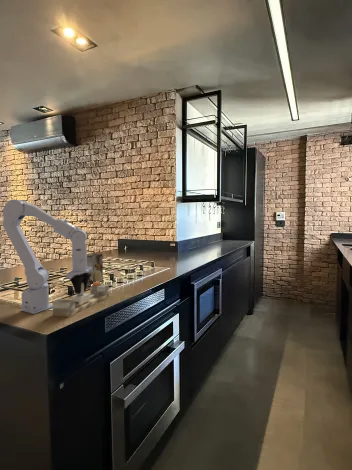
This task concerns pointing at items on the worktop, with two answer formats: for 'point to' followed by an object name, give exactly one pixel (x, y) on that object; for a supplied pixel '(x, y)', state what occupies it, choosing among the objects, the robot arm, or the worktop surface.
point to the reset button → (96, 283)
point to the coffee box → (95, 267)
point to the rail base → (72, 307)
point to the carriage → (81, 296)
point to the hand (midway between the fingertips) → (80, 292)
